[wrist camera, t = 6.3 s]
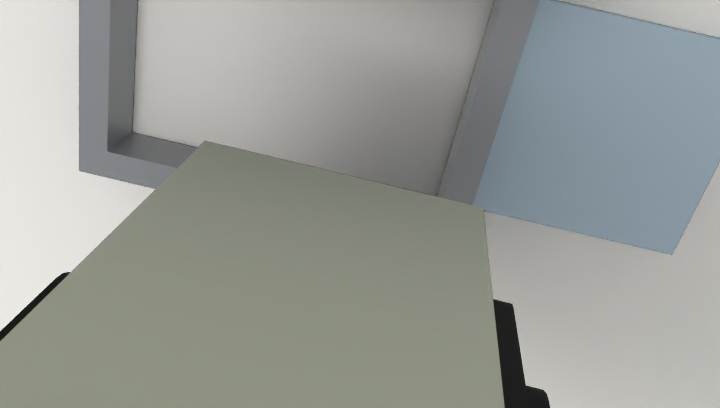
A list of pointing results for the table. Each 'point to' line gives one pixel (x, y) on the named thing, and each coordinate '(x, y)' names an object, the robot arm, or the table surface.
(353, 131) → the table surface
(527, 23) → the case
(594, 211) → the pad
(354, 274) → the block
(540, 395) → the robot arm
